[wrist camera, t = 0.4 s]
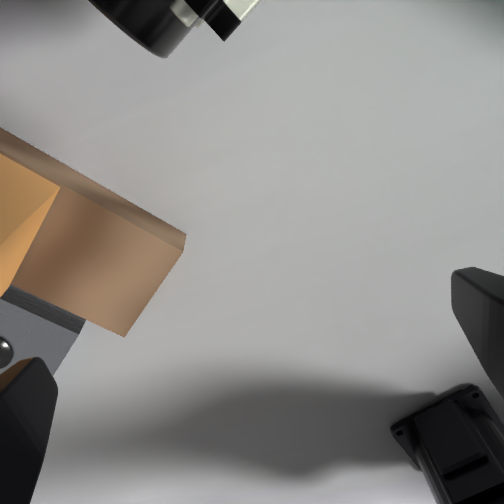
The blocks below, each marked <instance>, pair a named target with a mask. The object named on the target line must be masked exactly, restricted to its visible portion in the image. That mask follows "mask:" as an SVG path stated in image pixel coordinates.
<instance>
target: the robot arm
mask: <svg viewBox="0 0 504 504" xmlns="http://www.w3.org/2000/svg"><path fill="white" fill-rule="evenodd" d="M451 303H452V309H453V312H454V315H455V317H456V319H457V320H458V322H459V324H460V326H461V328H462V330H463V332H464V333H465V335H466V337H467V339H468V341H469V343H470V345H471V346H472V348H473V350H474V352H475V354H476V356H477V358H478V359H479V361H480V363H481V365H482V367H483V368H484V370H485V372H486V374H487V375H488V377H489V378H490V380H491V381H492V383H493V384H494V386H495V387H496V389H497V390H498V391H499V393H500V394H501V396H502V397H503V399H504V276H501V275H498V274H495V273H492V272H489V271H485V270H482V269H479V268H476V267H468V268H463V269H458V270H455V271H454V272H453V273H452V276H451ZM57 396H58V387H57V384H56V381H55V380H54V378H53V376H52V374H51V372H50V371H49V369H48V367H47V365H46V363H45V362H44V360H43V359H42V358H40V357H32V358H27V359H22V360H20V361H18V362H17V363H15V364H14V365H12V366H11V367H10V368H8V369H7V370H6V371H4V372H3V373H1V374H0V504H30V502H31V499H32V496H33V493H34V489H35V486H36V483H37V480H38V477H39V474H40V471H41V467H42V464H43V461H44V456H45V452H46V448H47V444H48V439H49V434H50V429H51V425H52V420H53V415H54V411H55V406H56V401H57ZM390 430H391V432H392V435H393V437H394V438H395V439H396V440H397V442H398V443H399V444H400V445H401V446H402V448H403V449H404V450H405V451H406V453H407V454H408V455H409V456H410V457H411V459H412V460H413V461H414V462H415V463H416V465H417V466H418V467H419V468H420V469H421V471H422V472H423V474H424V476H425V479H426V481H427V483H428V485H429V487H430V490H431V492H432V494H433V496H434V499H435V501H436V503H437V504H504V426H503V424H502V423H501V421H500V419H499V418H498V416H497V415H496V413H495V411H494V410H493V408H492V407H491V405H490V403H489V402H488V400H487V399H486V397H485V395H484V394H483V392H482V391H481V389H480V388H479V387H478V386H470V387H468V388H466V389H464V390H462V391H460V392H458V393H456V394H454V395H452V396H450V397H448V398H446V399H444V400H442V401H440V402H438V403H436V404H434V405H432V406H430V407H428V408H426V409H424V410H422V411H420V412H418V413H416V414H414V415H412V416H410V417H408V418H406V419H404V420H402V421H400V422H398V423H396V424H394V425H393V426H392V427H391V429H390Z"/></svg>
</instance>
